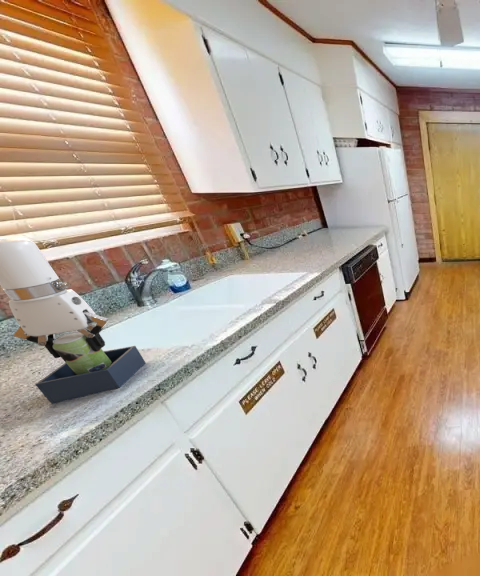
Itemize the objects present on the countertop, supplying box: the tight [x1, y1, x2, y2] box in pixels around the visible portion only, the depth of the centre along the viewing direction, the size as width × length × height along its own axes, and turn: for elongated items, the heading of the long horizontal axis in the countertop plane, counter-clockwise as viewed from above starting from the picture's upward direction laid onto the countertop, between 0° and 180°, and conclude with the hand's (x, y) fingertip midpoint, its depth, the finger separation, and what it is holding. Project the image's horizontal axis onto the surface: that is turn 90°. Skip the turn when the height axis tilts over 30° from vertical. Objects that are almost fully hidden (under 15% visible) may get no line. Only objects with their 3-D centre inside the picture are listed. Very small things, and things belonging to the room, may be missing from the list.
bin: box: [34, 345, 147, 405], centre depth 81 cm, size 12×12×7 cm
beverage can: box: [53, 331, 111, 375], centre depth 78 cm, size 6×7×12 cm
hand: (80, 351), depth 78 cm, fingers closed on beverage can, 6 cm apart
